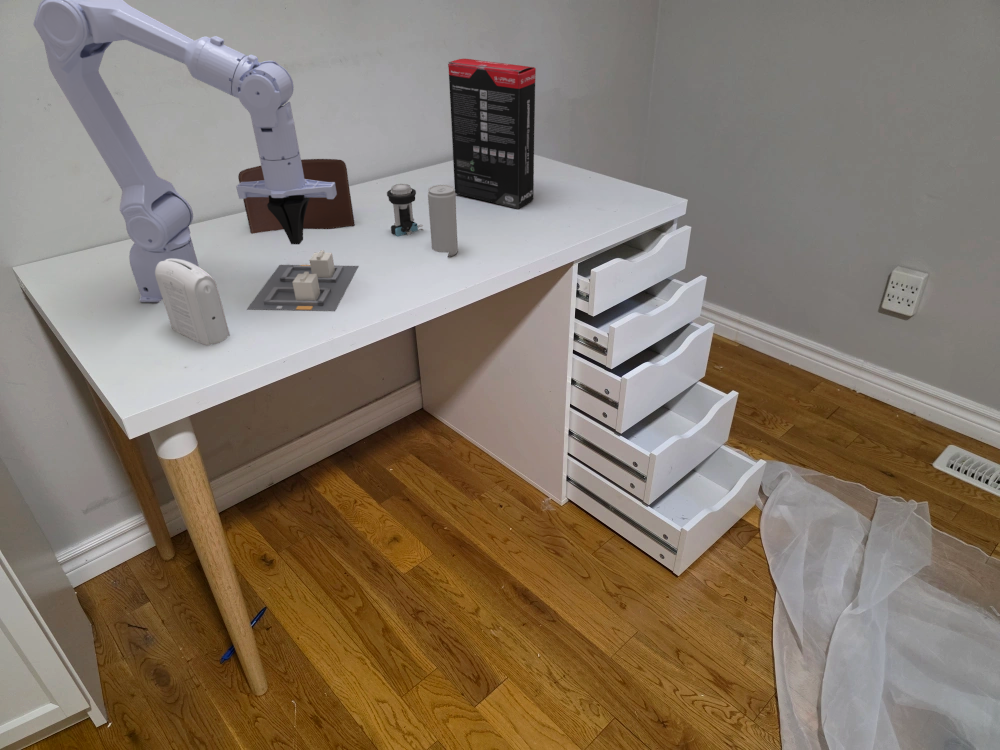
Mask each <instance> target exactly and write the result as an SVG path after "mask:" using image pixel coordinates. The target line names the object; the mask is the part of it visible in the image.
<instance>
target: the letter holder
mask: <svg viewBox="0 0 1000 750" xmlns="http://www.w3.org/2000/svg"><path fill="white" fill-rule="evenodd" d="M301 163H302V168H303V174H304V179H308V180H315V181H322V182H335V186H336V192H337V195H336V196H335V198H334V199H327V197H310V199H309V202H308V205H307V209H306V213H305V217H304V225H303V230H332V229H340V228H347V227H354V226H355V217H354V212H353V210H354V209H353V203H352V197H351V190H350V183H349V176H348V175H349V173H348V168H347V164H346V162H345V161H344V160H342V159H336V158H310V159H309V158H306V159H301ZM237 176H238V182H239V183H241V182H252V181H262V180H264V176H263V171H262V167H261V165H258V166H253V167H250V168H249V167H248V168H246V169H243V170H241V171H239V173H238V175H237ZM239 183H238V184H239ZM242 200H243V204H244V205H243V206H244V208H245V212H246V213H245V214H246V217H247V222H248V226H249V230H250V234H252V235H253V234H257V233H265V232H274V231H281V230H284V229H283V227H282V225H281V224H280V222H279V221H278V220H277V218H276V217H275V216H274V215H273V214H272V213H271V211H270V210H269V209H268V207H267V204H268V203H269V197H247V198H245V199H242Z"/></svg>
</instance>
